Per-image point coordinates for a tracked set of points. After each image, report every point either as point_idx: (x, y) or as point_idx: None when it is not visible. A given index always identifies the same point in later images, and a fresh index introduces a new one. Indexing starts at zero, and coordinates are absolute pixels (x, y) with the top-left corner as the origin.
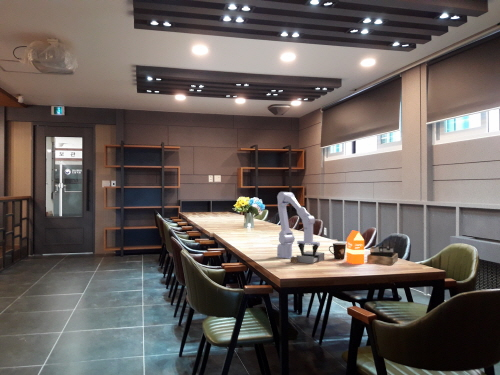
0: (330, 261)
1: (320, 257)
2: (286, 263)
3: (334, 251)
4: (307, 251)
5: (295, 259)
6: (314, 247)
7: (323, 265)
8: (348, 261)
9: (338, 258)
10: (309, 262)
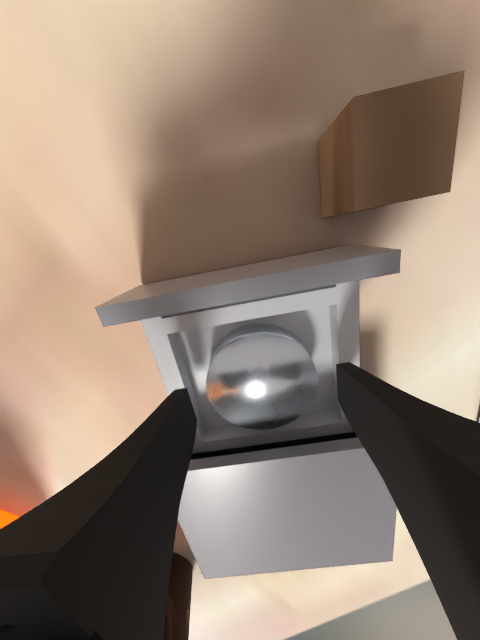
0: None
1: None
2: (427, 24)
3: None
4: (382, 552)
5: (339, 129)
6: (16, 534)
7: (19, 289)
8: None
9: None
10: (182, 278)
